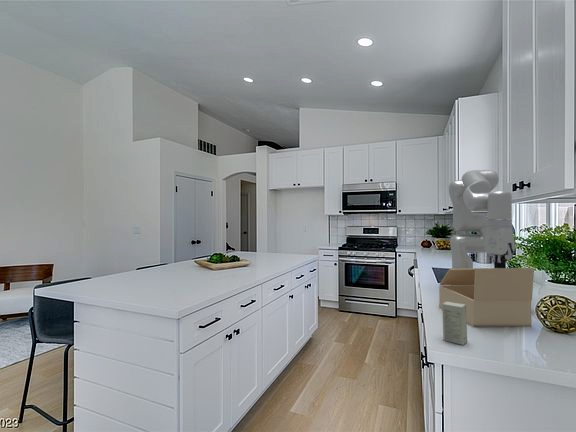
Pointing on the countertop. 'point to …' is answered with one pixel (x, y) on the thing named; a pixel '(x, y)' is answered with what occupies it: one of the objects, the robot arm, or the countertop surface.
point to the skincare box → (454, 322)
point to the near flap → (459, 277)
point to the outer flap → (503, 284)
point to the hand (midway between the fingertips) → (499, 273)
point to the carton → (487, 308)
